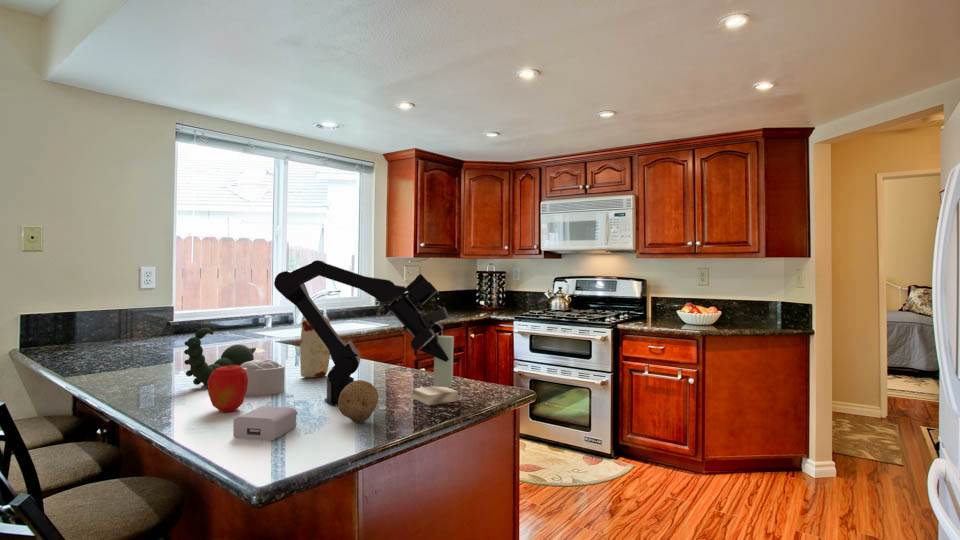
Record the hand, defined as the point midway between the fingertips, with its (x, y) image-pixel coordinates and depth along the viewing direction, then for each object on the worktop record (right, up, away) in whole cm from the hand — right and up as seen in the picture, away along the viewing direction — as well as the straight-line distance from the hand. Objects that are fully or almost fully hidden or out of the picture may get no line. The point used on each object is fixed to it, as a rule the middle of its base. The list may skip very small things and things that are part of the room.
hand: (448, 359), depth 137 cm
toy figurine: (-70, -11, +19) cm, 74 cm away
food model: (-46, -11, +30) cm, 56 cm away
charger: (-37, -11, -25) cm, 46 cm away
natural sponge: (-20, -11, -21) cm, 31 cm away
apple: (-54, -11, -11) cm, 56 cm away
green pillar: (-2, -7, 0) cm, 7 cm away
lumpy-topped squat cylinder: (-54, -11, +10) cm, 56 cm away
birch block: (-4, -12, +3) cm, 13 cm away
